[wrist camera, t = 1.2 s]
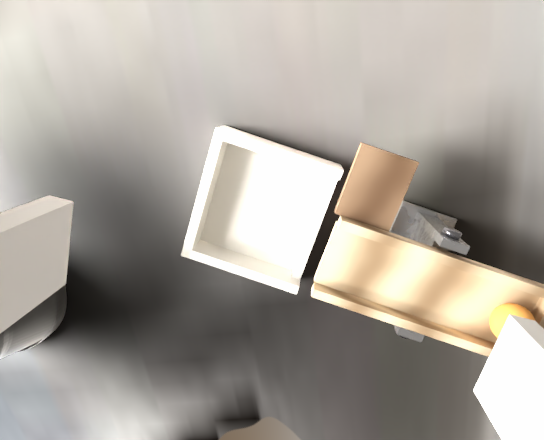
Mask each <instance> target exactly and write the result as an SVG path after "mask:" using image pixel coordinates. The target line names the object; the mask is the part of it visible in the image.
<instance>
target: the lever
mask: <svg viewBox="0 0 544 440" xmlns="http://www.w3.org/2000/svg"><path fill="white" fill-rule="evenodd" d="M418 164H419V162H417V161H415V160H412V159H409V158H406V157H403V156H400V155H397V154H394V153H391V152H388V151H385V150H382V149H379V148H376V147H373V146H370V145H368V144H365V143H362V142H360V145H359V148H358V150H357V153H356V155H355V158H354V161H353V163H352V166H351V168H350V171H349V174H348V176H347V179H346V181H345V184H344V186H343V189H342V192H341V194H340V197H339V199H338V202H337V205H336V207H335V210H334V212H335V214H338V215H340V217H339V220H338V221H336V222H335V225H334V227H333V230H332V233H331V235H330V238H329V240H328V243H327V245H326V248H325V250H324V253H323V256H322V258H321V261H320V263H319V266H318V268H317V271H316V273H315V276H314V283H313V286H312V288H311V297H313V298H316V299H319V300H322V301H325V302H328V303H331V304H334V305H337V306H340V307H343V308H345V309H348V310H351V311H354V312H357V313H360V314H363V315H366V316H369V317H372V318H375V319H378V320H381V321H384V322H387V323H390V324H393V325H396V326H399V327H402V328H405V329H408V330H411V331H414V332H417V333H420V334H423V335H426V336H429V337H432V338H434V339H437V340H440V341H443V342H446V343H449V344H452V345H455V346H458V347H461V348H464V349H467V350H470V351H473V352H476V353H479V354H482V355H485V356H488V357H489V356H490V354H491V352H492V350H493V347H494V345H495V343H496V341H497V339H498V338H497V337H496V336H495V335H494V334H493V332H492V330H491V328H490V324H489V319H490V315H491V313H492V311H493V310H494V309H495V308H496V307H498V306H499V305H502V304H506V303H514V304H518V305H521V306H523V307H525V308H526V309H527V310H529V311H530V312H531V313H532V315H533V316H534V318H535V321H536V322H537V323H538V324H539V325H540V326H541V327H542V328H543V329H544V284H542V283H539V282H536V281H533V280H530V279H527V278H524V277H521V276H518V275H515V274H512V273H509V272H506V271H503V270H500V269H497V268H494V267H491V266H488V265H485V264H483V263H480V262H477V261H474V260H471V259H468V258H465V257H462V256H459V255H456V254H453V253H450V252H447V251H444V250H441V249H438V248H435V247H432V246H429V245H426V244H423V243H420V242H417V241H414V240H412V239H409V238H406V237H403V236H400V235H397V234H394V233H391V232H389V230H390V228H391V226H392V223H393V221H394V219H395V217H396V214H397V212H398V210H399V208H400V205H401V203H402V201H403V198H404V196H405V194H406V192H407V189H408V187H409V185H410V182H411V180H412V178H413V176H414V173H415V171H416V169H417V166H418Z"/></svg>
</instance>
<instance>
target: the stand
mask: <svg viewBox="0 0 544 440" xmlns="http://www.w3.org/2000/svg"><path fill="white" fill-rule="evenodd" d="M456 222H457V219H456V218H453V217H450V216H447V215H444V214H441V213H438V212H435V211H432V210H429V209H426V208H424V207H421V206H418V205H415V204H412V203H409V202H406V201H402V203H401V205H400V208H399V210H398V212H397V214H396V217H395V219H394V221H393V223H392V226H391V228H390V230H389V232H391V233H394V234H397V235H400V236H403V237H406V238H409V239H412V240H414V241H417V242H420V243H423V244H426V245H429V246H432V247H435V248H438V249H441V250H444V251H447V252H449V250H452V251H455V252H458V253H461V254H464V255H466V254H467V253H468V251H469V249H470V246H469V245H468V244H467V243H465V242H464V241H463V240H462V239H461V236H462V233H461V232H460V231H458V230H456V229H454V226H455V224H456ZM394 328H395V332H396V334H398V335H399V336H401V337H403V338H405V339H412V340H415V341H418V342H422V340H423V338H424V336H425V335H423V334H420V333H417V332H414V331H411V330H408V329H405V328H402V327H399V326H396V325H394Z"/></svg>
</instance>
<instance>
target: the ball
mask: <svg viewBox="0 0 544 440" xmlns="http://www.w3.org/2000/svg"><path fill="white" fill-rule="evenodd" d="M509 314H511V315H515V316H519V317H523V318H526V319H530V320H534V321H535V318H534V316H533V315H532V313H531V312H530V311H529V310H527V309H526V308H525V307H523V306H521V305H518V304H514V303H506V304H502V305H499V306H498V307H496V308H495V309H494V310H493V311H492V313H491V315H490V319H489V324H490V328H491V330H492V332H493V334H494V335H495V336H496V337H497V338H498V337H499V335H500V333H501V331H502V329H503V327H504V324H505V322H506V320H507V318H508V316H509Z"/></svg>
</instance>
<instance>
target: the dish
mask: <svg viewBox="0 0 544 440" xmlns="http://www.w3.org/2000/svg"><path fill="white" fill-rule="evenodd" d="M343 172H344V170H343V168H342V166H341V164H338V163H335V162H332V161H329V160H326V159H323V158H320V157H317V156H314V155H311V154H308V153H305V152H302V151H299V150H296V149H294V148H291V147H288V146H285V145H282V144H279V143H276V142H273V141H270V140H267V139H264V138H261V137H258V136H255V135H252V134H249V133H246V132H243V131H240V130H237V129H234V128H231V127H229V126H226V125H222V126H218V127H215V130H214V134H213V138H212V142H211V145H210V149H209V153H208V156H207V160H206V164H205V167H204V171H203V175H202V178H201V182H200V186H199V189H198V193H197V197H196V200H195V204H194V208H193V211H192V215H191V219H190V222H189V226H188V230H187V233H186V237H185V241H184V244H183V248H182V252H181V255H180V256H183V257H186V258H189V259H192V260H195V261H198V262H201V263H204V264H207V265H210V266H213V267H216V268H219V269H222V270H225V271H228V272H231V273H234V274H237V275H240V276H243V277H246V278H248V279H251V280H254V281H257V282H260V283H263V284H266V285H269V286H272V287H275V288H278V289H281V290H284V291H287V292H290V293H293V294H296V295H297V292H298V289H299V287H300V279H301V276H302V273H303V271H304V268H305V265H306V263H307V260H308V258H309V255H310V252H311V250H312V247H313V244H314V242H315V239H316V237H317V234H318V231H319V229H320V226H321V223H322V221H323V218H324V216H325V213H326V210H327V208H328V205H329V202H330V200H331V197H332V194H333V192H334V189H335V187H336V184H337V181H338V180H340V179H341V177H342V174H343Z"/></svg>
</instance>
